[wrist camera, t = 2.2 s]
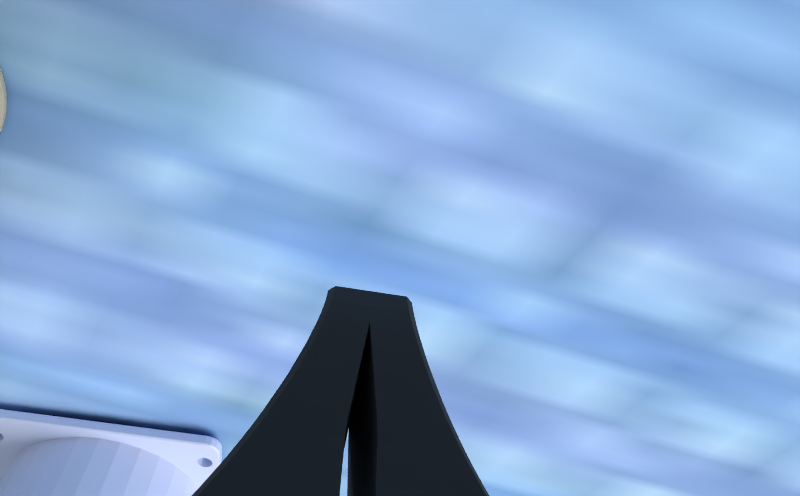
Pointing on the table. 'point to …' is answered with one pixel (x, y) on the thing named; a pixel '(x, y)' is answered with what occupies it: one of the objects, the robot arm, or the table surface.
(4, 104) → the candle
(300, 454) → the robot arm
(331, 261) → the table surface
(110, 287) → the table surface
